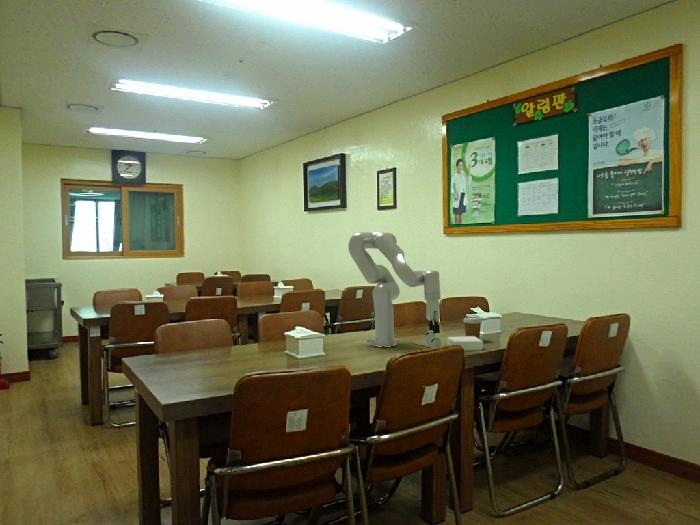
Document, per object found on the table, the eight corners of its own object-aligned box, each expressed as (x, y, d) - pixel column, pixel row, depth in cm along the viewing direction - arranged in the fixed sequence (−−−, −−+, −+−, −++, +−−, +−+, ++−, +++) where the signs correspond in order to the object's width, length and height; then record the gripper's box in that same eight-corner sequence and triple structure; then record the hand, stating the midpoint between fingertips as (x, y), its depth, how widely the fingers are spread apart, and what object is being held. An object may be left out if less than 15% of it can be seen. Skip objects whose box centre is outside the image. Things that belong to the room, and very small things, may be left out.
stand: (453, 350, 253) (453, 341, 253) (447, 345, 267) (447, 336, 267) (483, 349, 253) (482, 341, 253) (475, 344, 267) (474, 335, 267)
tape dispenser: (434, 351, 260) (420, 336, 261) (444, 343, 259) (431, 327, 260) (434, 354, 255) (420, 338, 255) (444, 345, 253) (430, 329, 254)
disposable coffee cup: (484, 342, 270) (483, 319, 270) (465, 343, 271) (464, 319, 270) (480, 339, 280) (479, 316, 279) (461, 339, 280) (461, 317, 280)
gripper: (421, 295, 265) (423, 329, 265) (428, 298, 248) (430, 335, 248) (436, 294, 265) (438, 328, 265) (444, 297, 248) (446, 334, 248)
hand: (434, 331), depth 257 cm, fingers open, 9 cm apart
